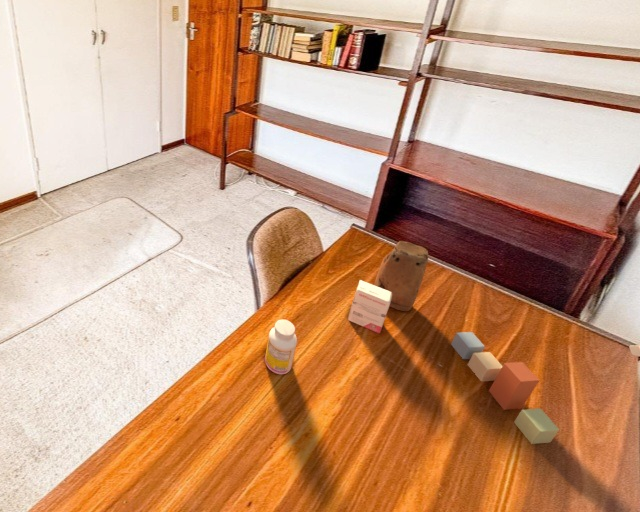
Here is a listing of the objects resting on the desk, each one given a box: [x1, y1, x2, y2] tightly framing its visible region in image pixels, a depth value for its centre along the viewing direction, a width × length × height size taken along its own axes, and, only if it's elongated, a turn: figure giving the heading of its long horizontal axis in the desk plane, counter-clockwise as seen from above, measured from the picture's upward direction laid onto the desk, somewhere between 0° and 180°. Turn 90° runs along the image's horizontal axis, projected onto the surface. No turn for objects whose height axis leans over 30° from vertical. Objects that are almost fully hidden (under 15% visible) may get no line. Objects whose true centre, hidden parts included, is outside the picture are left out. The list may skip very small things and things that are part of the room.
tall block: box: [488, 361, 540, 411], centre depth 90 cm, size 4×4×10 cm
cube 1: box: [513, 407, 560, 445], centre depth 85 cm, size 4×4×4 cm
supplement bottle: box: [264, 319, 298, 375], centre depth 96 cm, size 7×7×13 cm
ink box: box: [347, 279, 392, 334], centre depth 109 cm, size 9×5×12 cm, turn 58°
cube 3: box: [450, 331, 486, 360], centre depth 103 cm, size 4×4×4 cm
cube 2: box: [467, 351, 503, 382], centre depth 98 cm, size 4×4×4 cm
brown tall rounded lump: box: [373, 240, 429, 312], centre depth 115 cm, size 11×8×20 cm
